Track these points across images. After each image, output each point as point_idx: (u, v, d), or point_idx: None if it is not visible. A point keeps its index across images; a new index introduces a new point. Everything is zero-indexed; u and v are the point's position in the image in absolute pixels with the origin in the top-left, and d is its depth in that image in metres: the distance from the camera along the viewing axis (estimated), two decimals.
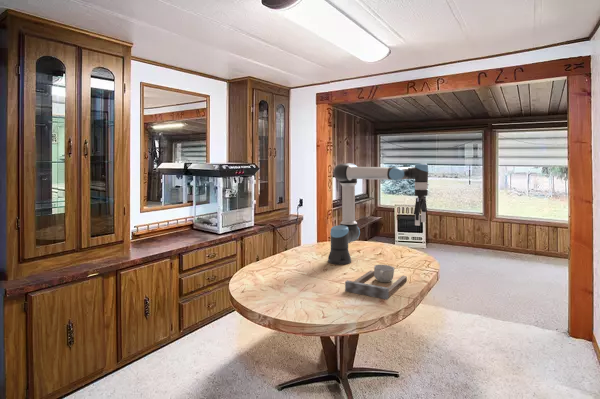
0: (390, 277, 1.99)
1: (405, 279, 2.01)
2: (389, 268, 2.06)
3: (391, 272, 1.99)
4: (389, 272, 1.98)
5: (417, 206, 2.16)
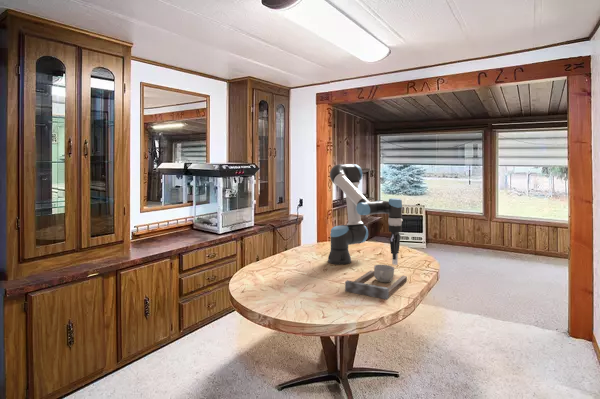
0: (390, 277, 1.99)
1: (405, 279, 2.01)
2: (389, 268, 2.06)
3: (391, 272, 1.99)
4: (389, 272, 1.98)
5: (392, 246, 2.12)
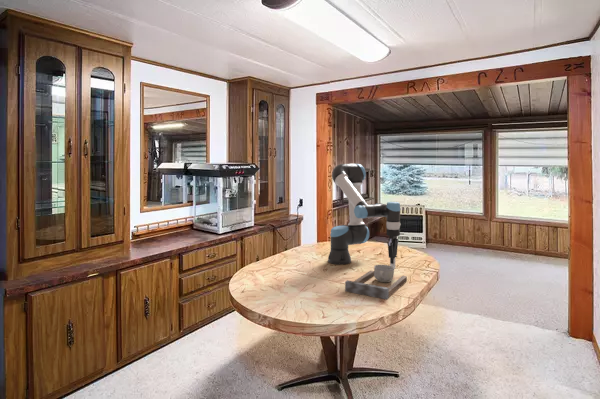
0: (390, 277, 1.99)
1: (405, 279, 2.01)
2: (389, 268, 2.06)
3: (391, 272, 1.99)
4: (389, 272, 1.98)
5: (390, 250, 2.10)
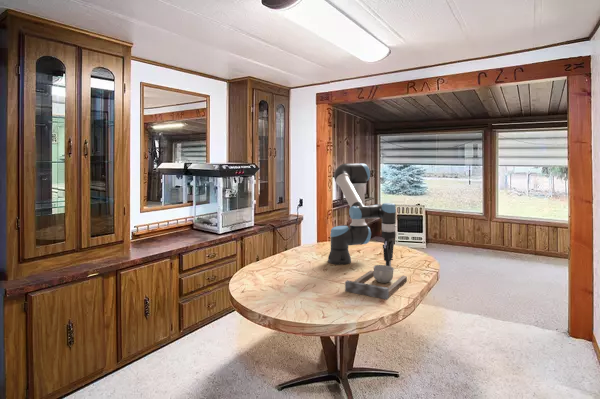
0: (389, 277, 1.98)
1: (405, 279, 2.01)
2: (388, 268, 2.05)
3: (390, 272, 1.98)
4: (388, 272, 1.97)
5: (386, 253, 2.03)
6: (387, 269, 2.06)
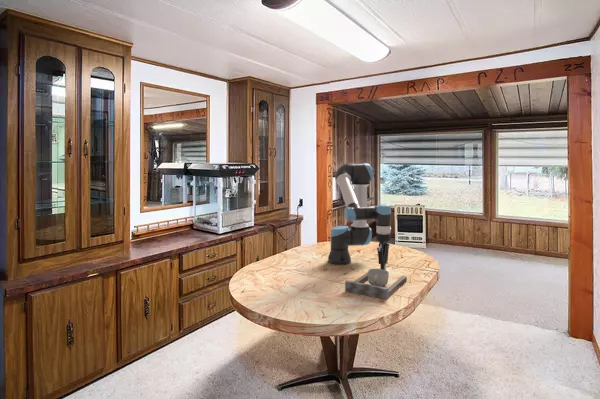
0: (385, 282, 1.91)
1: (405, 279, 2.01)
2: (383, 272, 1.98)
3: (386, 276, 1.91)
4: (384, 276, 1.90)
5: (380, 256, 1.96)
6: (382, 273, 1.99)
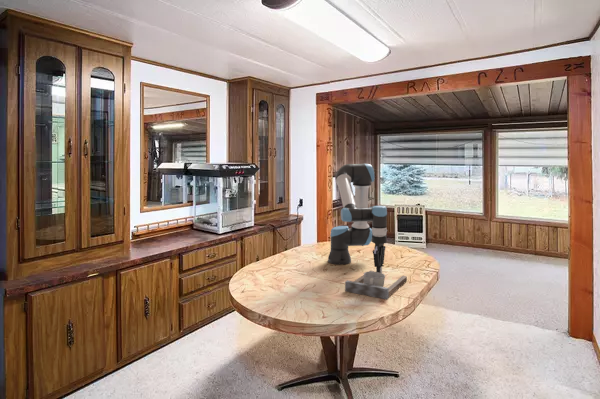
0: (381, 285, 1.86)
1: (405, 279, 2.01)
2: (379, 275, 1.93)
3: (382, 280, 1.86)
4: (380, 280, 1.85)
5: (376, 259, 1.91)
6: (378, 276, 1.94)
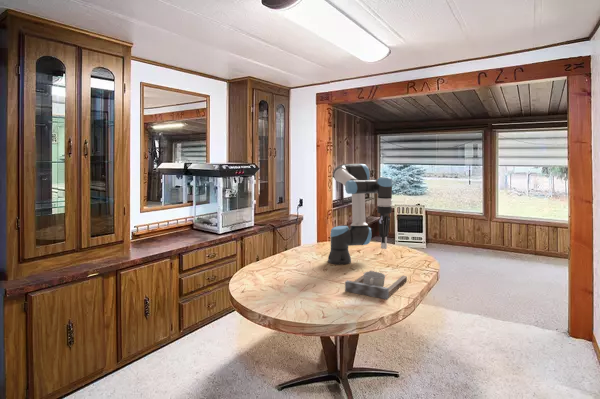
0: (381, 285, 1.86)
1: (405, 279, 2.01)
2: (379, 275, 1.93)
3: (382, 280, 1.86)
4: (380, 280, 1.85)
5: (381, 229, 1.96)
6: (378, 276, 1.94)
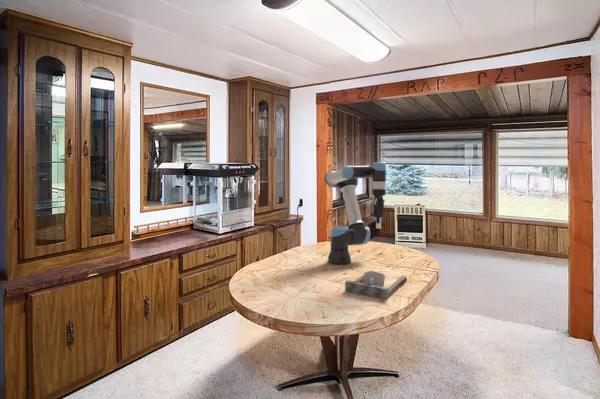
0: (381, 285, 1.86)
1: (405, 279, 2.01)
2: (379, 275, 1.93)
3: (382, 280, 1.86)
4: (380, 280, 1.85)
5: (376, 209, 2.13)
6: (378, 276, 1.94)
